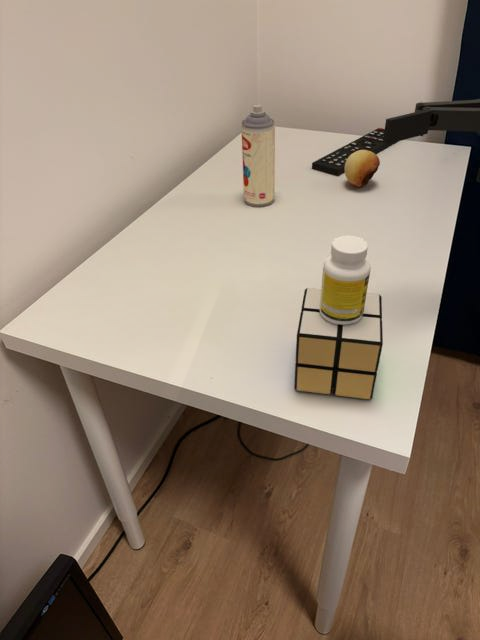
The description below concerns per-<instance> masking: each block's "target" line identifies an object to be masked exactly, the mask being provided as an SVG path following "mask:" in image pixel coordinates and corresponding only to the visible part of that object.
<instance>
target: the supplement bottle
mask: <svg viewBox="0 0 480 640" xmlns="http://www.w3.org/2000/svg"><path fill="white" fill-rule="evenodd" d="M368 248H369V245H368V242H367V241H366V240H365V239H364V238H362V237H360V236H356V235H341V236H338V237H335V238H334V239H333V240H332V242H331V247H330V254H329V255H328V256H327V257H326V258H325V260H324V262H323V267H322V274H321V275H322V276H321V285H320V289H321V297H320V313H321V315H322V316H323V317H324V318H325V319H326V320H327V321H329V322H331V323H335V324H340V325H346V324H352V323H355V322H357V321H358V320H360V319H361V317H362V315H363V312H364V307H365V300H366V294H367V293H368V287H369V281H370V277H371V268H372V267H371V263H370V261H369V259H368V258H367V255H368Z"/></svg>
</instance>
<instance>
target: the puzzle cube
mask: <svg viewBox="0 0 480 640" xmlns="http://www.w3.org/2000/svg"><path fill="white" fill-rule="evenodd" d="M320 297H321V288H314V287H313V288H312V287H306V288H305V289H304V292H303V298H302V303H301V308H300V309H301V310H300V315H299V321H298V326H297V332H296V343H295V364H294V365H295V367H294V385H293V386H294V387H293V388H294V390H295V391H298V392H306V393H314V394H323V395H324V394H325V395H332V394H333V395H334V396H337V397H347V398H354V399H363V400H364V399H365V400H372V399H373V398H374V397H373V396H374V392H375V391H374V390H375V386H376V381H377V376H378V369H379V365H380V361H381V354H382V350H383V345H384V339H383V336H384V335H383V334H384V333H383V304H382V303H383V301H382V300H383V299H382V295H381V294H379V293H370V292H369V293H368V292H367V294H366V300H365V307H364V312H363V315H362V317H361V319H360V320H358V321H357V322H355V323H352V324H346V325H340V324H335V323H331V322H329V321H327V320H326V319H325V318H324V317H323V316H322V315H321V313H320Z"/></svg>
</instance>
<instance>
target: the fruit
mask: <svg viewBox="0 0 480 640" xmlns="http://www.w3.org/2000/svg"><path fill="white" fill-rule="evenodd" d="M380 164H381V160H380V157H379V156H378V154H375V153H373V152H371V151H367V150H359V151H356V152H354V153H352V154H351V155H350V156H349V157H348V159H347V161H346V163H345V173H344V175H345V177H346V179H347V181H348V182H349V183H350V184H351V185H352V186H355V187H356V188H362V187H365V186H366V185H368V184H369V182H370V180H372V178H373V177H374V175H375V174H376V173H377V172H378V169H379V166H380Z"/></svg>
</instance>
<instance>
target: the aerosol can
mask: <svg viewBox="0 0 480 640" xmlns="http://www.w3.org/2000/svg"><path fill="white" fill-rule="evenodd" d="M252 106H253V107H252V108H253V109H252V111H251V112H250V113H249V114H248V115H247V116H246V118H245V119H243V120H242V121H241V127H240V128H241V129H240V130H241V153H242V157H241V158H242V180H243V181H242V183H243V203H244V204H245V205H247V206H249V207H252V208H264V207H265V208H266V207H268V206H271V205H272V204H274V202H275V193H276V192H275V187H276V186H275V185H276V181H275V180H276V178H275V177H276V173H275V172H276V125H275V120H274V119H273V118H271V117H270V116H269V114H267V113H266V112H265V111H264V110H263V105H262V104H254V105H252Z"/></svg>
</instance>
